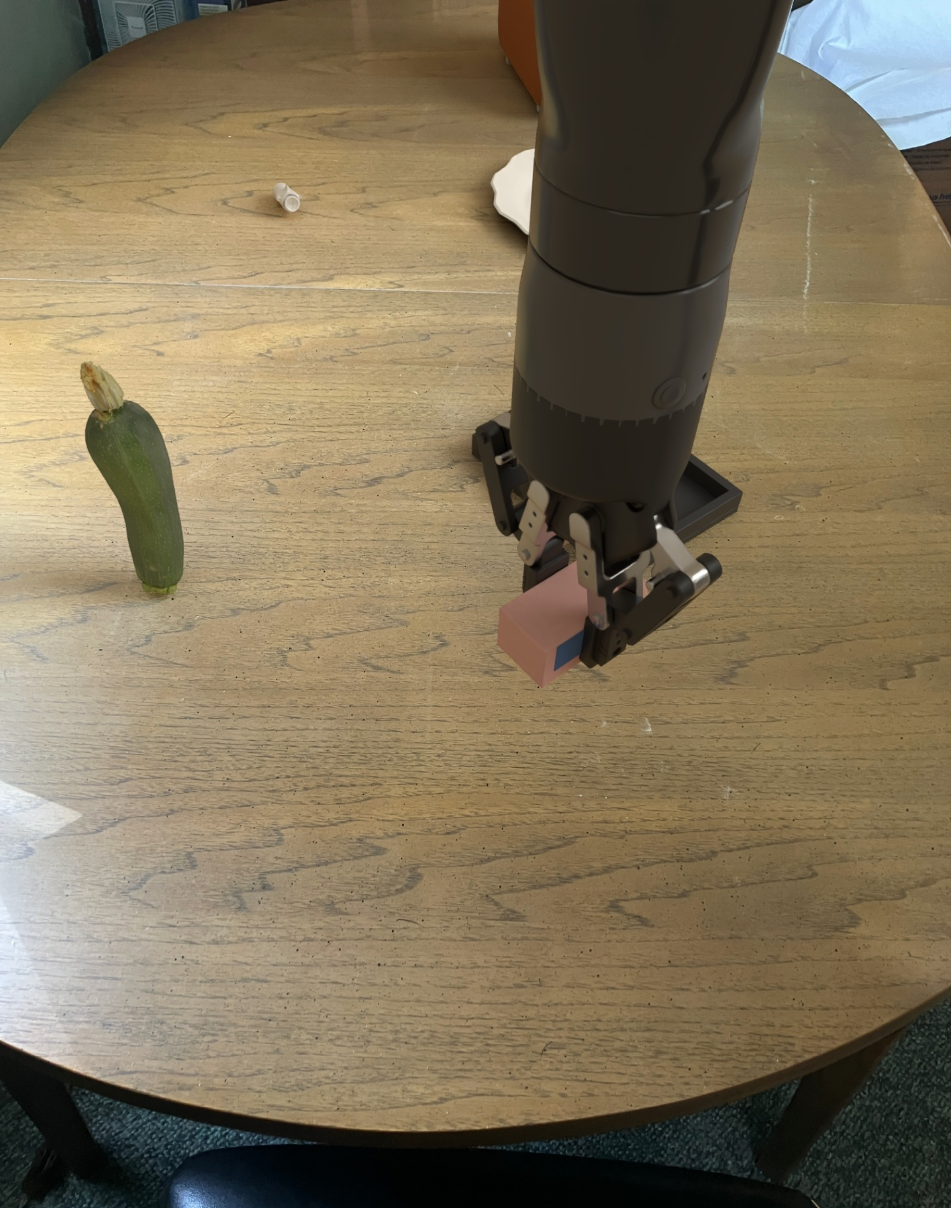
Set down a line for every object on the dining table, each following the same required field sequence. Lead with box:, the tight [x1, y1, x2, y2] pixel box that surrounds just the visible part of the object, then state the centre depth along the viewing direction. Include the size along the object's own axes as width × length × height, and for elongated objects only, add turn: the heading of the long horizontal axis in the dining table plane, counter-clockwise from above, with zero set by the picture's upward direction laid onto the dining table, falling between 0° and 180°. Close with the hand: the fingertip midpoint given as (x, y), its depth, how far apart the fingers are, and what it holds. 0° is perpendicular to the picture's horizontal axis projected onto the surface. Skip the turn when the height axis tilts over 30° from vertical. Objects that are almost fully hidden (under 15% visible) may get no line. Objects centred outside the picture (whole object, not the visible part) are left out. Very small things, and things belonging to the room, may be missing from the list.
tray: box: [471, 432, 744, 568], centre depth 75 cm, size 18×13×2 cm
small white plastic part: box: [272, 182, 302, 213], centre depth 101 cm, size 4×6×3 cm, turn 177°
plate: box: [489, 148, 535, 237], centre depth 103 cm, size 25×25×2 cm
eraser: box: [496, 560, 649, 689], centre depth 48 cm, size 4×7×3 cm, turn 129°
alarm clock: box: [497, 0, 541, 113], centre depth 117 cm, size 23×9×17 cm, turn 13°
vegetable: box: [79, 360, 185, 595], centre depth 60 cm, size 4×4×20 cm
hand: (570, 629), depth 49 cm, fingers closed on eraser, 3 cm apart
